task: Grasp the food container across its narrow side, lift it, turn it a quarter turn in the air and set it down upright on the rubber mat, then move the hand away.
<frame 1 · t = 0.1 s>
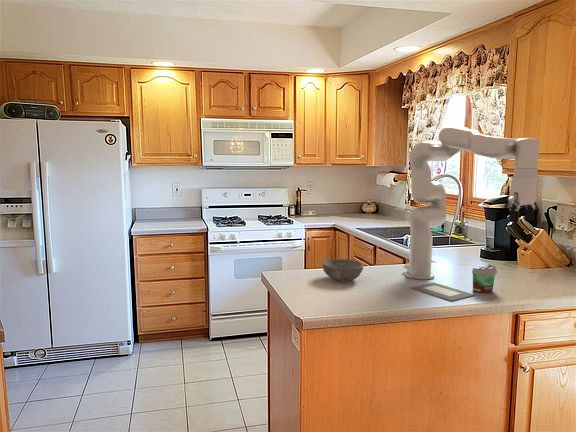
hand: (521, 220, 167), 31 cm above the countertop, tool pointing down, fingers open, 9 cm apart
bowl: (342, 280, 200), on the countertop
mat: (441, 292, 185), on the countertop
food container: (486, 292, 186), on the countertop
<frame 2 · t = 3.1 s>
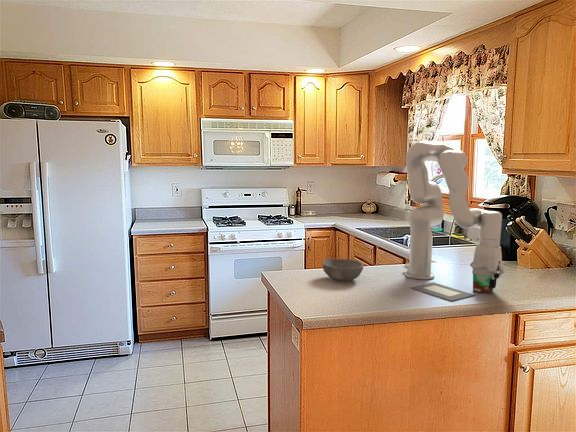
hand: (485, 286, 186), 2 cm above the countertop, tool pointing down, fingers closed on food container, 5 cm apart
food container: (486, 292, 186), on the countertop, touching gripper
everything else where it was.
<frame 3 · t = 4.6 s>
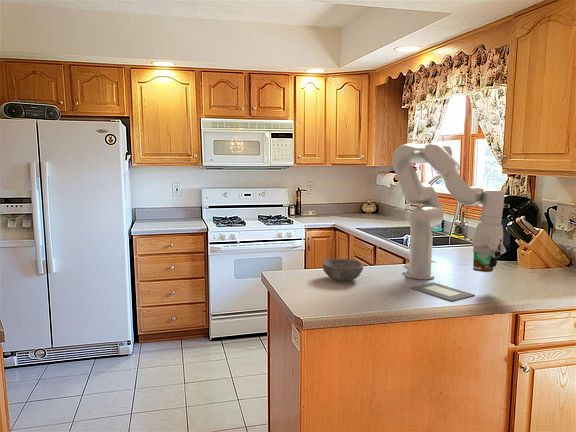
hand: (486, 264, 185), 11 cm above the countertop, tool pointing down, fingers closed on food container, 5 cm apart
food container: (486, 270, 185), point 9 cm above the countertop, touching gripper
everything else where it was.
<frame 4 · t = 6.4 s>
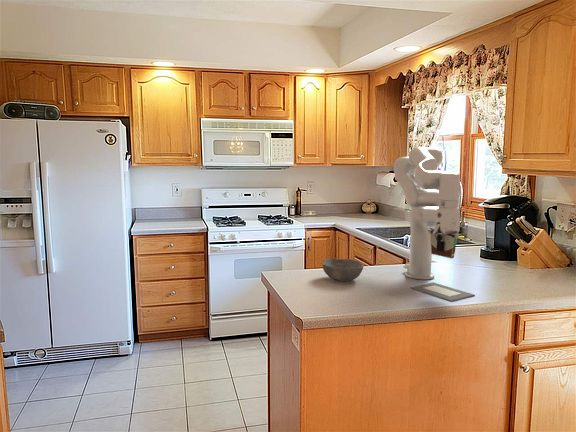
hand: (445, 249, 183), 17 cm above the countertop, tool pointing down, fingers closed on food container, 5 cm apart
food container: (445, 255, 183), point 15 cm above the countertop, touching gripper
everything else where it was.
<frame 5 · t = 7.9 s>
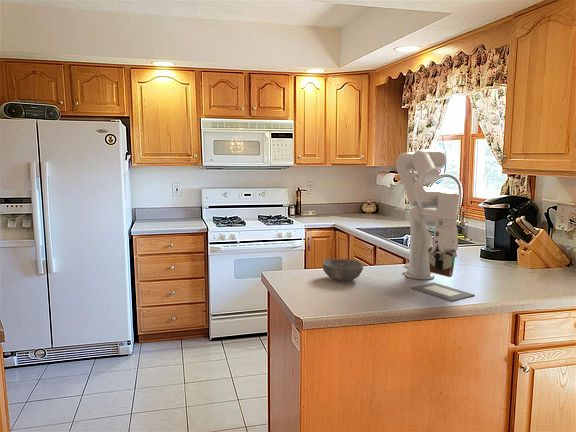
hand: (443, 268, 183), 10 cm above the countertop, tool pointing down, fingers closed on food container, 5 cm apart
food container: (444, 274, 184), point 7 cm above the countertop, touching gripper
everything else where it was.
when the fingers open (5 cm above the countertop, at t = 9.3 s): food container drops 2 cm, resting on mat.
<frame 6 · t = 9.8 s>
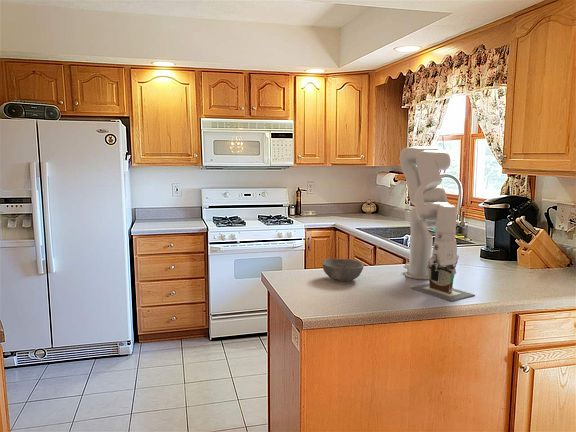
hand: (442, 278, 184), 5 cm above the countertop, tool pointing down, fingers open, 9 cm apart
food container: (443, 290, 186), resting on mat, touching gripper
everything else where it was.
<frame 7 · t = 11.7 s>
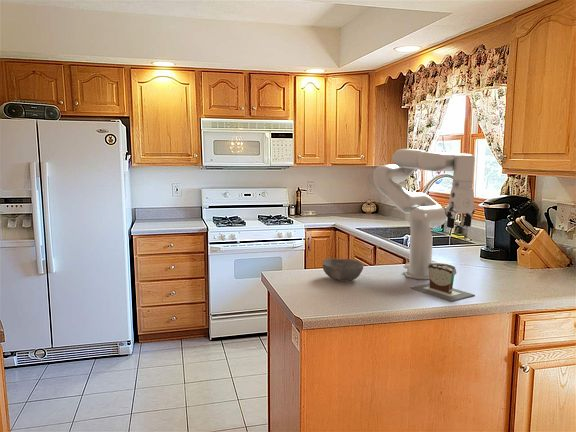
hand: (458, 226, 189), 25 cm above the countertop, tool pointing down, fingers open, 9 cm apart
food container: (443, 290, 186), resting on mat
everything else where it was.
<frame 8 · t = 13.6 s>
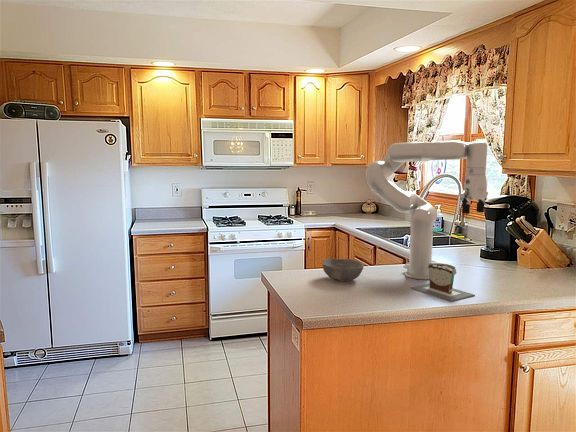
hand: (472, 212, 194), 30 cm above the countertop, tool pointing down, fingers open, 9 cm apart
nothing on the countertop moved.
at the end: food container inside the target area on the mat (1.6 cm from its centre), point 0.4 cm above the mat's base; food container tilted 0°; the gripper is holding nothing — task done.
